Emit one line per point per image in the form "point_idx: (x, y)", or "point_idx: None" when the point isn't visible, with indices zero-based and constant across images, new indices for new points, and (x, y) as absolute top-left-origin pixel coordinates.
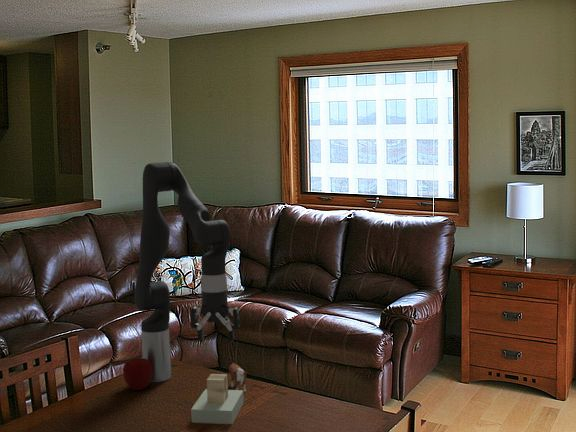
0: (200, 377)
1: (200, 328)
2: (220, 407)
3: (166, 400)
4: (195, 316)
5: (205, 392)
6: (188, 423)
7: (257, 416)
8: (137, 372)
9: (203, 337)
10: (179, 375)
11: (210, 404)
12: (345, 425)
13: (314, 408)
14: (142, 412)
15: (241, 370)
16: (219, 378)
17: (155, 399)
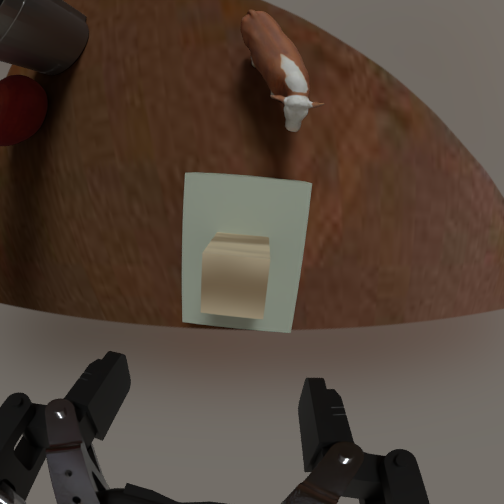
0: (156, 14)
1: (90, 450)
2: None
3: (97, 172)
4: (21, 489)
5: (191, 201)
6: None
7: (346, 272)
8: (6, 141)
9: (116, 374)
10: (106, 18)
11: None
12: (483, 305)
13: (460, 226)
14: (74, 247)
15: (304, 104)
16: (245, 302)
17: (75, 169)
